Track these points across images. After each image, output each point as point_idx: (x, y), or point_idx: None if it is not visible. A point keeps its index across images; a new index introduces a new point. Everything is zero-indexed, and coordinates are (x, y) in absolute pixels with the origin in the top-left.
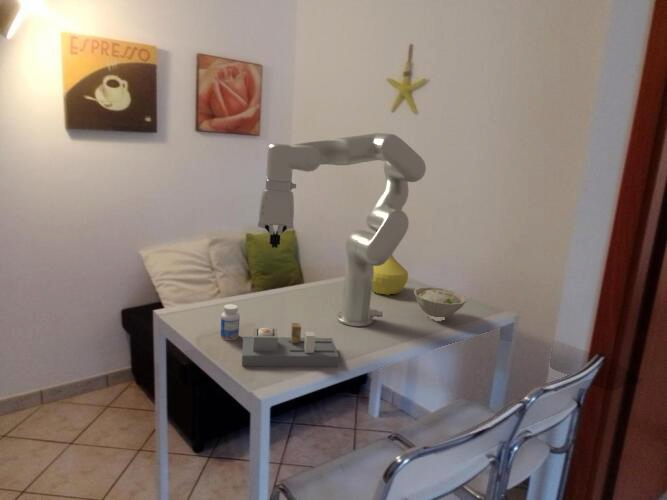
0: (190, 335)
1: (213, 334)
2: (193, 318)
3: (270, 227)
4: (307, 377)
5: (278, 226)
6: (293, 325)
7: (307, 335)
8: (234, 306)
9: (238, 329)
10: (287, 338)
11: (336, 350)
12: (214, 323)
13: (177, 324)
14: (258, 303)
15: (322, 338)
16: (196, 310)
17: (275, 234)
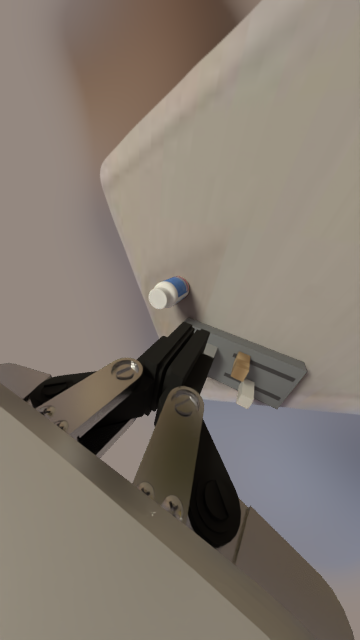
0: (139, 272)
1: (162, 275)
2: (141, 209)
3: (82, 444)
4: (230, 396)
5: (145, 459)
6: (234, 373)
7: (237, 403)
8: (162, 300)
9: (183, 297)
10: (236, 346)
11: (284, 398)
12: (166, 235)
13: (124, 232)
14: (281, 96)
15: (289, 366)
16: (145, 165)
17: (163, 387)
